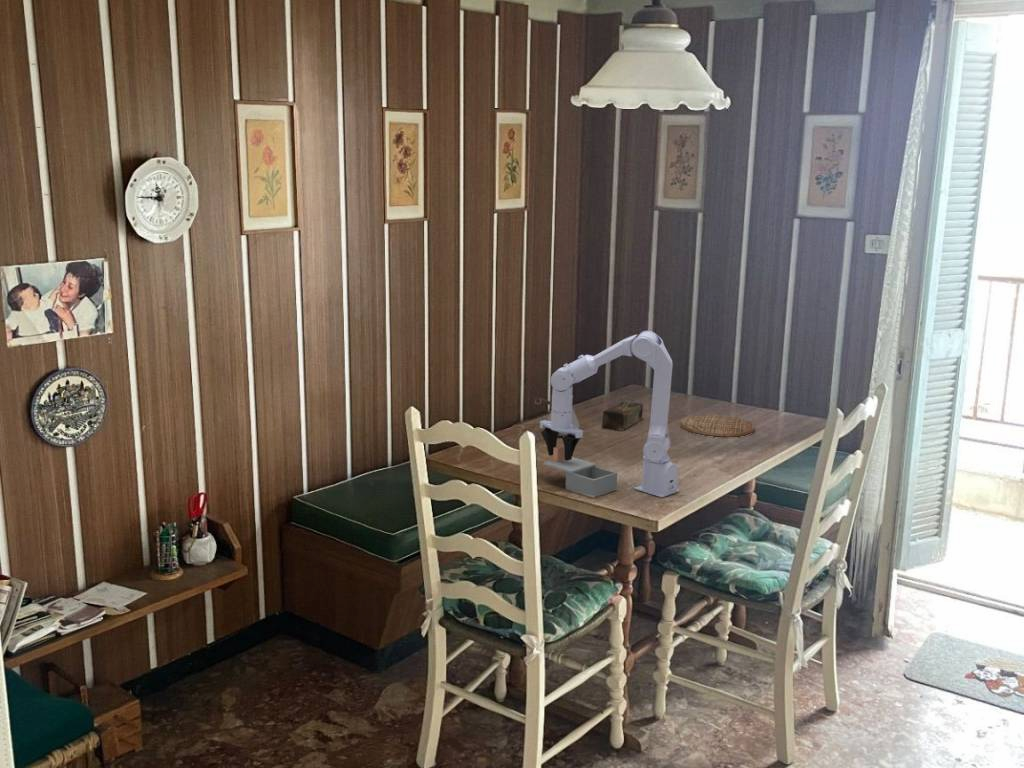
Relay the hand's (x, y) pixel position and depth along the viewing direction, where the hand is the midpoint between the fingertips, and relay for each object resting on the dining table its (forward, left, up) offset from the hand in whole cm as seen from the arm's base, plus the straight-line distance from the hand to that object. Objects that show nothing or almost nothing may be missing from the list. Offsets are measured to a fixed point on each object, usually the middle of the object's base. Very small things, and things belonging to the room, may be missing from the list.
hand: (560, 457), depth 285 cm
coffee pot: (+31, -32, -7) cm, 45 cm away
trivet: (+2, -83, -7) cm, 83 cm away
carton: (-12, 0, -7) cm, 14 cm away
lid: (-4, 0, -2) cm, 4 cm away
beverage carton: (+27, -62, -7) cm, 68 cm away
